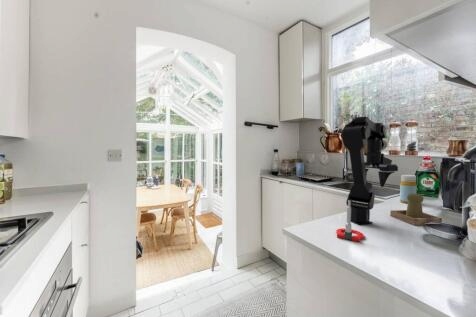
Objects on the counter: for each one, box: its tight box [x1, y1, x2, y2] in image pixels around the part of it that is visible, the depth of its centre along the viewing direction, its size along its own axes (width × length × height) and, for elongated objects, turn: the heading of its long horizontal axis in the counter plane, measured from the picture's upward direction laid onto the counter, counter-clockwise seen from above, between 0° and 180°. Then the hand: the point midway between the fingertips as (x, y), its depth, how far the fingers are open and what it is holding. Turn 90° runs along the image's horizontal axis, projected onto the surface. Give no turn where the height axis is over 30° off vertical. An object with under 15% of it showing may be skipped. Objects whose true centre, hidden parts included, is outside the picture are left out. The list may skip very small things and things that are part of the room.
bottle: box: [399, 174, 418, 205], centre depth 114 cm, size 7×7×15 cm
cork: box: [406, 193, 424, 218], centre depth 86 cm, size 6×6×11 cm
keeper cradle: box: [389, 209, 443, 227], centre depth 87 cm, size 12×12×2 cm
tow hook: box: [335, 200, 365, 243], centre depth 72 cm, size 8×13×9 cm
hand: (372, 185), depth 96 cm, fingers open, 9 cm apart
